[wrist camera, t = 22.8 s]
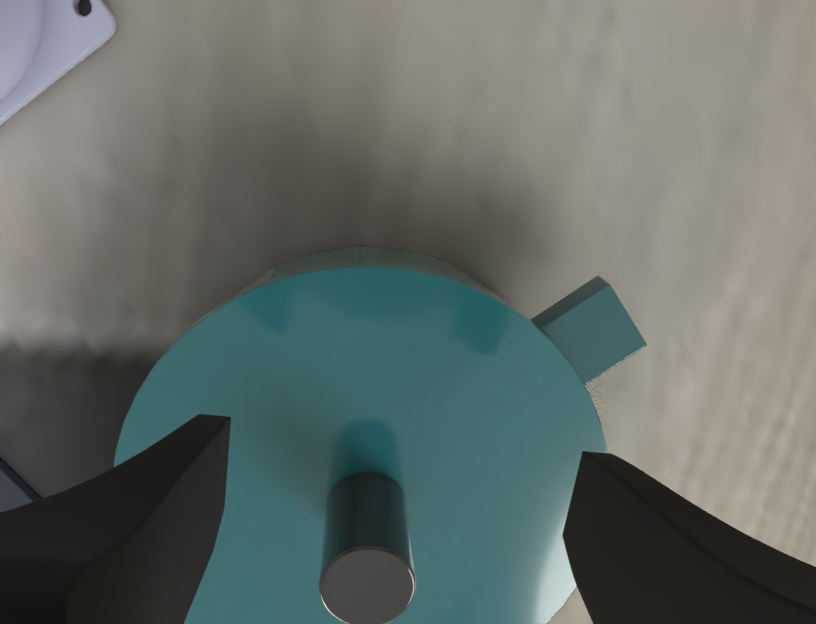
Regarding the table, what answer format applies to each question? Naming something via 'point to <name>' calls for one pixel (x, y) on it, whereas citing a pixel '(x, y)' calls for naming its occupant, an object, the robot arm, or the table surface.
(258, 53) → the table surface
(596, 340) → the pot
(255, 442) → the pot lid
